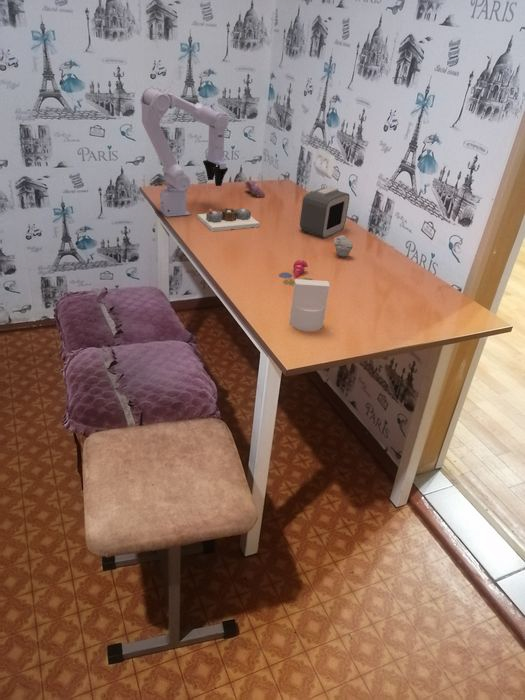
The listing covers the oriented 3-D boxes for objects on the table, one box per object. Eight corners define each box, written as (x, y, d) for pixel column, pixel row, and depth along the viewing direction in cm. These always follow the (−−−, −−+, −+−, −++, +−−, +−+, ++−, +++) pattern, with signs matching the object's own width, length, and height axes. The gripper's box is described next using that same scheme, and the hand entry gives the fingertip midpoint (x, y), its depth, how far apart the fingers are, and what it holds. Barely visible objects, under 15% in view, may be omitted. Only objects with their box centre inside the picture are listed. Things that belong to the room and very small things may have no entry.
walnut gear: (224, 222, 207) (225, 214, 206) (218, 216, 212) (218, 208, 210) (239, 220, 210) (239, 212, 208) (232, 215, 214) (233, 207, 212)
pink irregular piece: (247, 194, 247) (242, 180, 243) (256, 189, 248) (251, 175, 243) (257, 201, 240) (251, 187, 236) (266, 196, 241) (261, 182, 236)
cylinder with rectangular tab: (320, 315, 157) (327, 276, 150) (324, 332, 149) (331, 291, 143) (288, 313, 156) (293, 273, 150) (290, 330, 149) (296, 289, 142)
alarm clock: (321, 240, 205) (328, 197, 197) (295, 231, 211) (301, 189, 202) (344, 229, 217) (351, 189, 208) (319, 221, 222) (325, 181, 214)
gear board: (212, 231, 202) (212, 216, 199) (197, 218, 213) (197, 203, 210) (259, 226, 211) (260, 212, 208) (243, 214, 221) (244, 200, 218)
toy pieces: (276, 269, 181) (277, 256, 179) (310, 271, 182) (312, 258, 180) (278, 286, 171) (280, 272, 169) (315, 288, 172) (317, 275, 170)
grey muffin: (335, 250, 198) (339, 231, 194) (354, 256, 195) (357, 236, 192) (328, 255, 194) (331, 236, 190) (347, 261, 191) (350, 241, 187)
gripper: (234, 150, 208) (231, 187, 215) (218, 141, 218) (216, 176, 226) (216, 151, 205) (214, 188, 212) (201, 141, 215) (199, 177, 223)
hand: (214, 182), depth 219 cm, fingers open, 7 cm apart
